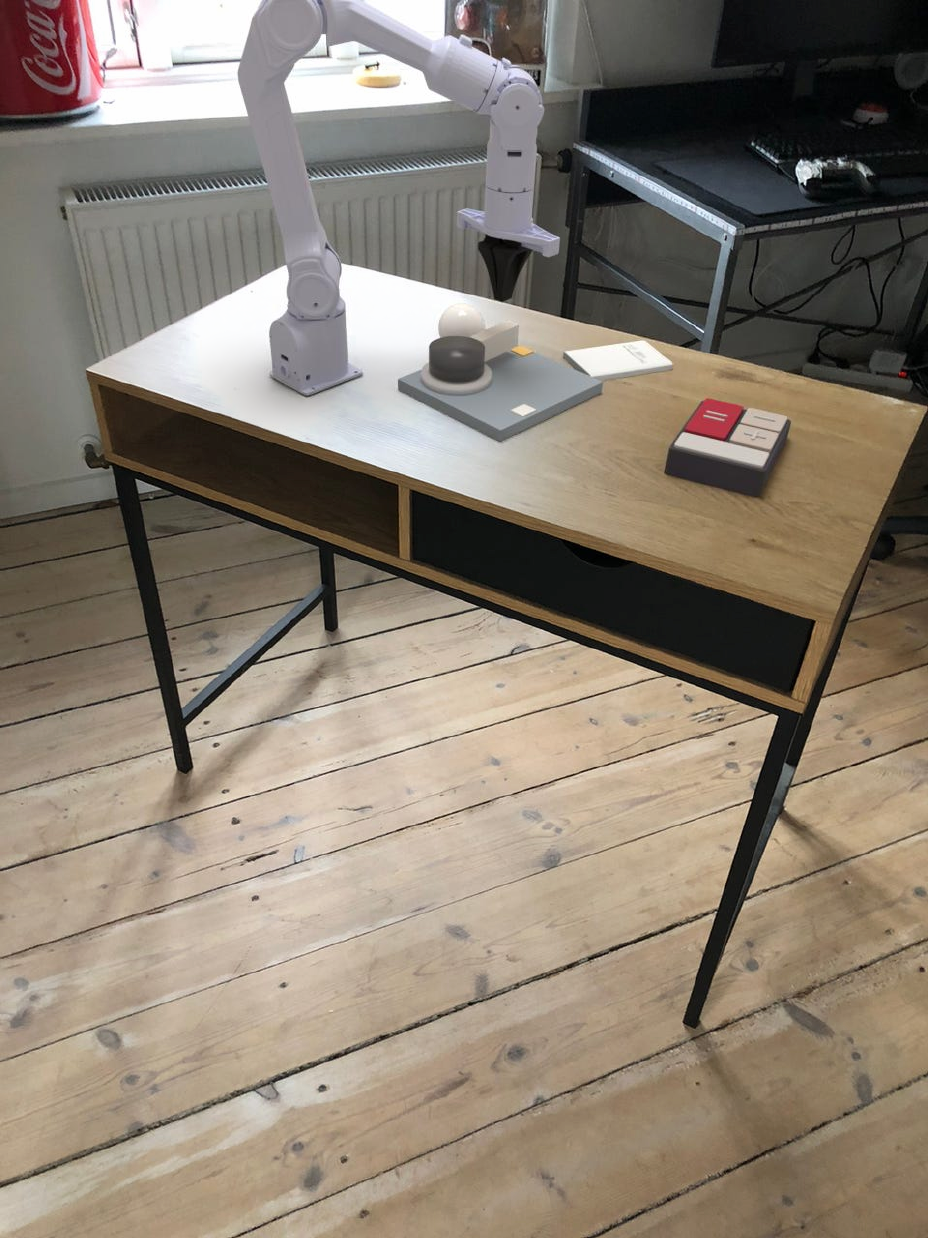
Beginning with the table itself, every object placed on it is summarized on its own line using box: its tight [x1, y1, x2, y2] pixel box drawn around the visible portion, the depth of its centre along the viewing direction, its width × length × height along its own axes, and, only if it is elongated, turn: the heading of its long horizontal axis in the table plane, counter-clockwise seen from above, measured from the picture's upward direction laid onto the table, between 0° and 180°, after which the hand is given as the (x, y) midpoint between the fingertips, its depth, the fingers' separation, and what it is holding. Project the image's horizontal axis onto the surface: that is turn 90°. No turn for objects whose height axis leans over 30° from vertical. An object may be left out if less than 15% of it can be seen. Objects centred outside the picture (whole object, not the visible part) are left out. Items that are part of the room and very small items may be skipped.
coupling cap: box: [428, 319, 520, 382], centre depth 131 cm, size 14×7×3 cm, turn 139°
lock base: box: [397, 344, 604, 443], centre depth 131 cm, size 19×18×2 cm
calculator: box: [663, 397, 792, 498], centre depth 119 cm, size 11×4×15 cm
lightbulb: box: [437, 303, 486, 338], centre depth 141 cm, size 6×6×11 cm
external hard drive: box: [562, 340, 674, 382], centre depth 139 cm, size 2×8×12 cm
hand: (502, 298), depth 129 cm, fingers closed
